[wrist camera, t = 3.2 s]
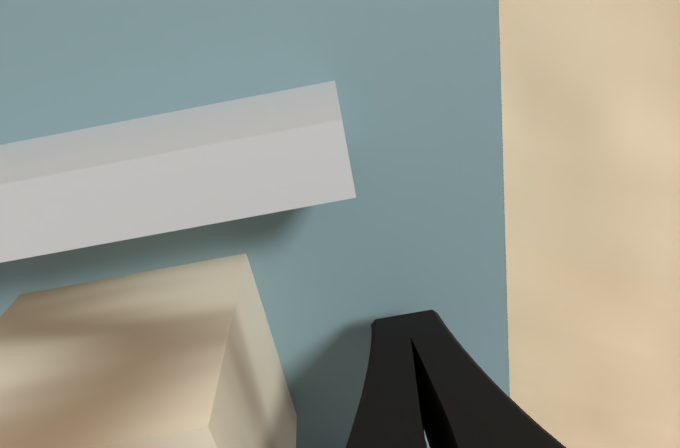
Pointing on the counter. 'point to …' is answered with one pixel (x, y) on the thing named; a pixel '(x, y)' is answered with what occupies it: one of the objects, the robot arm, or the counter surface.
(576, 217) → the counter surface
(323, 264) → the board
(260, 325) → the block
